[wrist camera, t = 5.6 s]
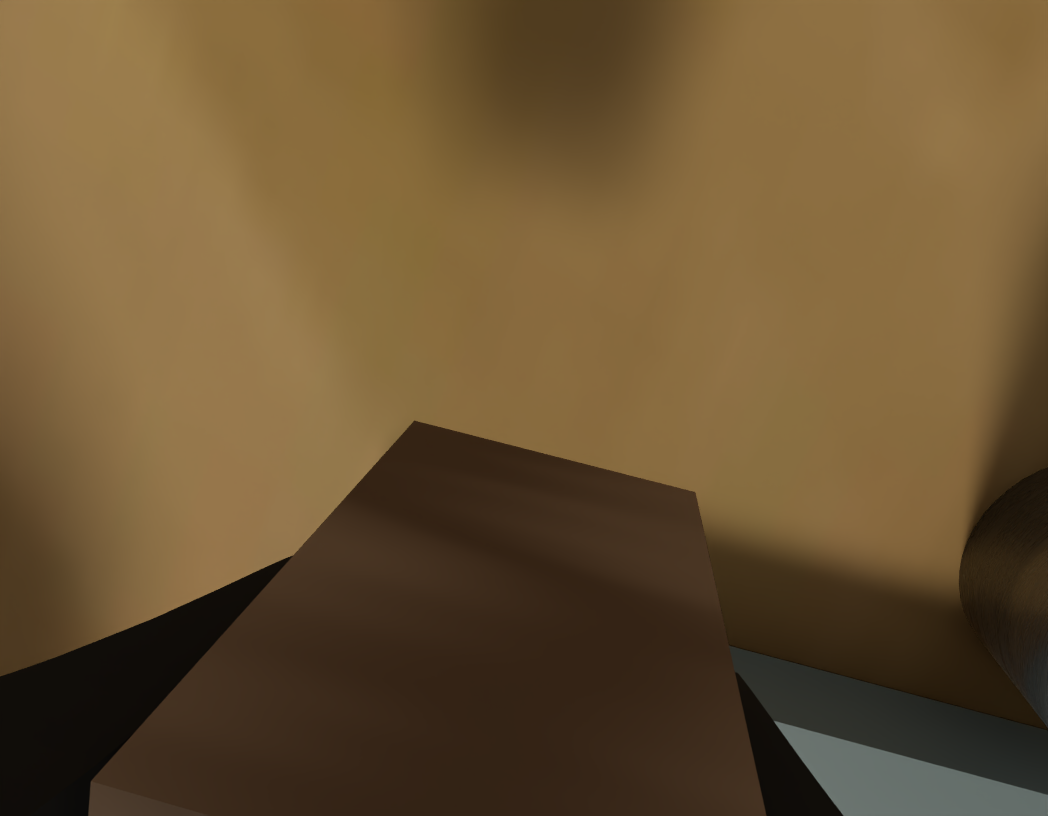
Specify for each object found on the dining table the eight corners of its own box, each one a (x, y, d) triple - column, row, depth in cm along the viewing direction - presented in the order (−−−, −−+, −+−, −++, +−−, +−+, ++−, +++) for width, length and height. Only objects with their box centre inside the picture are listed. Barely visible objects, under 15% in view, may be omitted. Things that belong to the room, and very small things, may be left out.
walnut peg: (368, 661, 12) (58, 1234, 6) (414, 420, 11) (90, 782, 4) (621, 730, 12) (613, 1413, 5) (695, 492, 11) (803, 986, 4)
